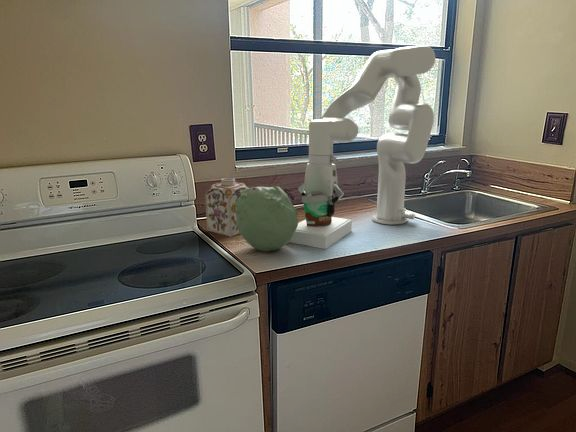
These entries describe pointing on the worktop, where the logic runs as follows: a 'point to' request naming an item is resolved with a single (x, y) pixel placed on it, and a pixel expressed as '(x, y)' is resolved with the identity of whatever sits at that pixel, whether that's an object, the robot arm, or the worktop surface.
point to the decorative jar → (223, 206)
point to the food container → (316, 210)
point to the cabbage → (265, 217)
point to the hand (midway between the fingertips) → (320, 213)
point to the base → (321, 233)
